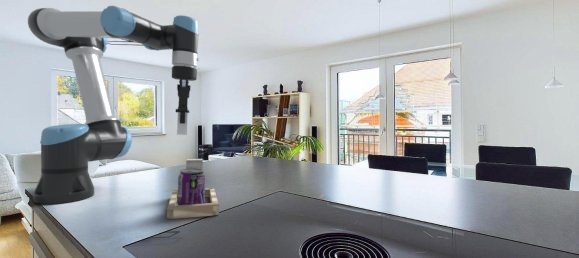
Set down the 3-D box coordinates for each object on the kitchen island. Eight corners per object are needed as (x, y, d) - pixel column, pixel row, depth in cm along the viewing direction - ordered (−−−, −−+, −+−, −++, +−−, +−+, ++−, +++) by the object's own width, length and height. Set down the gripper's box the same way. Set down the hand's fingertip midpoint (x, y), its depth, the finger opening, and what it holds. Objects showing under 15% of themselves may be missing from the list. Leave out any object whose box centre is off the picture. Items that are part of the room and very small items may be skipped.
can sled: (173, 197, 91) (173, 159, 91) (213, 194, 95) (214, 158, 95) (166, 219, 71) (167, 171, 71) (218, 215, 75) (219, 169, 75)
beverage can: (199, 217, 74) (200, 172, 74) (173, 216, 74) (174, 172, 74) (207, 208, 81) (208, 168, 81) (183, 208, 81) (184, 167, 81)
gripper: (198, 61, 78) (195, 136, 79) (195, 73, 101) (193, 131, 102) (169, 58, 75) (167, 135, 76) (173, 71, 99) (171, 130, 100)
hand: (182, 133), depth 89 cm, fingers open, 13 cm apart
